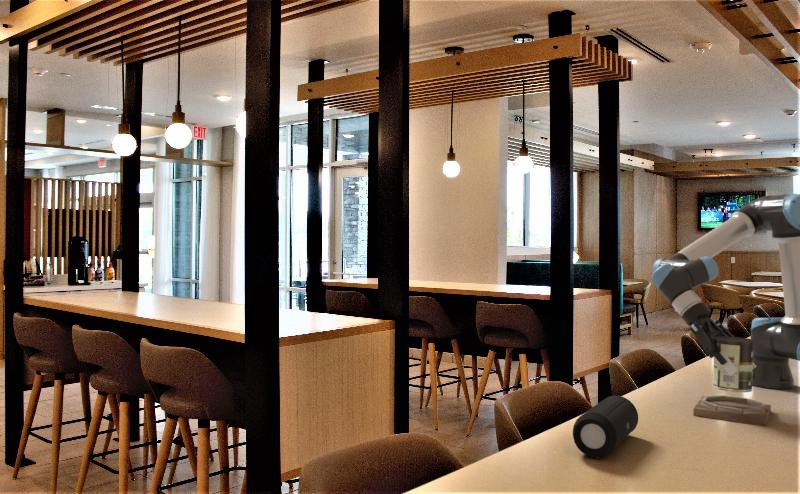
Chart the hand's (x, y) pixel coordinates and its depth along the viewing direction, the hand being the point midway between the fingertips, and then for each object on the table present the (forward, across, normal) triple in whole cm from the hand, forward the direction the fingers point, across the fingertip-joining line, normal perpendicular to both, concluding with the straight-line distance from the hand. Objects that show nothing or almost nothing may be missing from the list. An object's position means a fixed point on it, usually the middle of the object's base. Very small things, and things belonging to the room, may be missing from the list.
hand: (743, 371), depth 192 cm
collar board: (+7, 0, -11) cm, 13 cm away
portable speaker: (+5, +56, -13) cm, 58 cm away
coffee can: (+2, 0, -6) cm, 6 cm away
